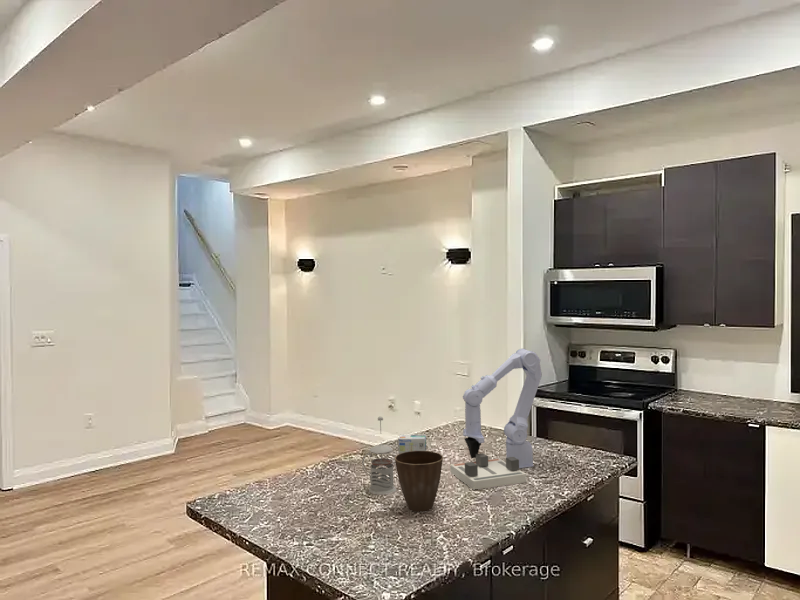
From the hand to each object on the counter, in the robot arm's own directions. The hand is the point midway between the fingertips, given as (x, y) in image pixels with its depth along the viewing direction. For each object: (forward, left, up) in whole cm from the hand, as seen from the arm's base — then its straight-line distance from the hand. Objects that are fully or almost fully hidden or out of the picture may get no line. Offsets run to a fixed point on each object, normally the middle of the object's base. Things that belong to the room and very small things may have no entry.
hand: (473, 457), depth 222 cm
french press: (+39, +8, -4) cm, 40 cm away
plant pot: (+32, +29, -4) cm, 43 cm away
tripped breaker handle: (0, +7, -1) cm, 7 cm away
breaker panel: (0, +11, -4) cm, 12 cm away
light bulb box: (+19, -15, -4) cm, 25 cm away
